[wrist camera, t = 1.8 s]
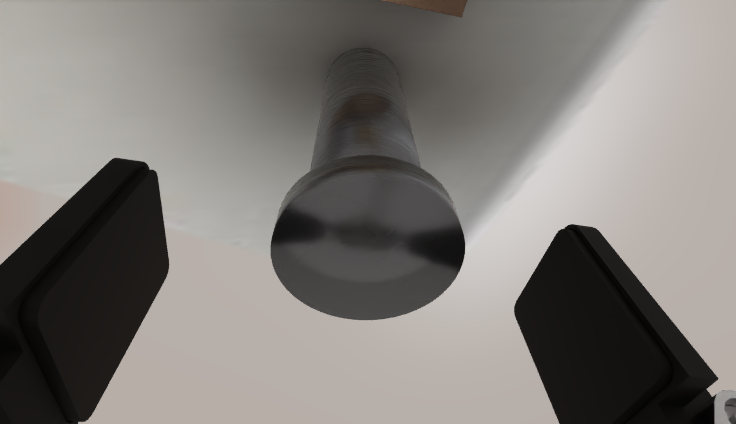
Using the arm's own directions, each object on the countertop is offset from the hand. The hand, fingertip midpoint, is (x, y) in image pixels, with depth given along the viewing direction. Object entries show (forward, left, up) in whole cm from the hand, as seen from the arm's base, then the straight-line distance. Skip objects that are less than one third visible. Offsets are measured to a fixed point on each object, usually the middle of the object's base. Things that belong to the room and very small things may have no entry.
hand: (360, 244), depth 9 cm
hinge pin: (0, 0, -9) cm, 9 cm away
